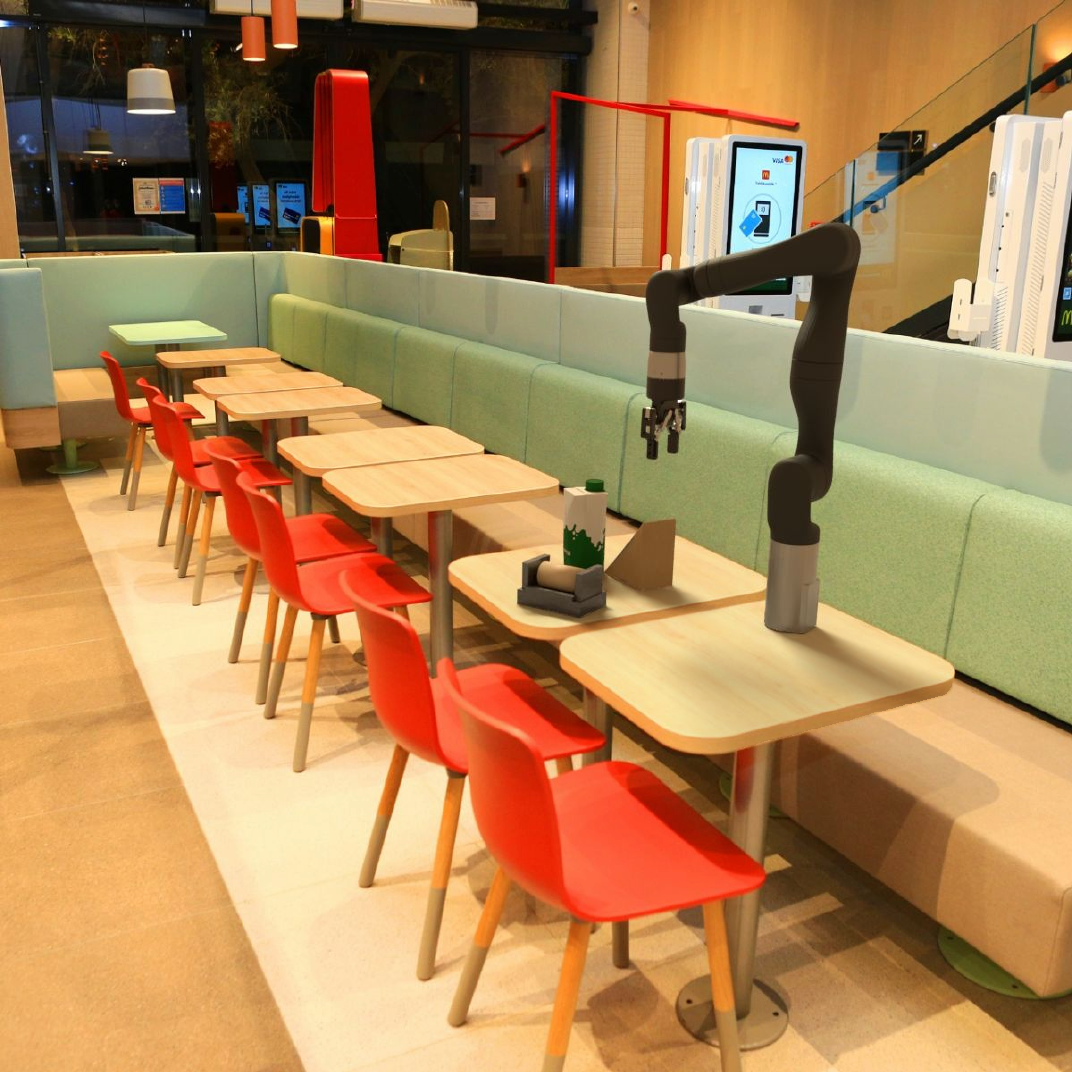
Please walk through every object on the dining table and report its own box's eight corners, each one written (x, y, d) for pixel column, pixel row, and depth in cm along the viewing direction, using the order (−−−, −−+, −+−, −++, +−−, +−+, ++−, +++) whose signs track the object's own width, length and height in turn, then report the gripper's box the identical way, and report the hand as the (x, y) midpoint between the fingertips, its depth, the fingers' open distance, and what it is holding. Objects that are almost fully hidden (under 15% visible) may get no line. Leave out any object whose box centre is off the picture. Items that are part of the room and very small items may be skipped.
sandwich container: (634, 567, 258) (637, 503, 255) (673, 586, 245) (677, 518, 242) (602, 572, 254) (604, 506, 251) (640, 591, 241) (643, 522, 238)
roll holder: (606, 605, 232) (607, 564, 229) (579, 618, 224) (580, 576, 221) (544, 591, 240) (545, 552, 238) (517, 603, 232) (517, 562, 230)
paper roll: (587, 593, 230) (589, 568, 230) (573, 595, 226) (576, 569, 225) (549, 584, 235) (552, 560, 235) (535, 587, 231) (537, 561, 230)
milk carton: (609, 572, 254) (612, 484, 248) (570, 575, 251) (572, 486, 246) (595, 561, 262) (598, 476, 257) (557, 564, 259) (559, 478, 254)
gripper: (665, 379, 216) (661, 464, 220) (700, 372, 227) (695, 453, 231) (631, 376, 220) (628, 459, 224) (666, 369, 231) (663, 448, 235)
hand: (662, 456), depth 227 cm, fingers open, 8 cm apart
